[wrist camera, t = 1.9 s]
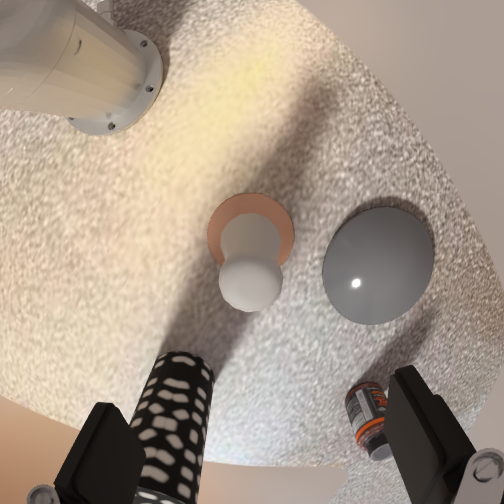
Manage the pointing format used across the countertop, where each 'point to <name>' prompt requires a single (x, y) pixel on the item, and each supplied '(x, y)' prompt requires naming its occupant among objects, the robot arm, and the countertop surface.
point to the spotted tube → (173, 428)
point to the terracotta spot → (244, 206)
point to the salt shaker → (250, 263)
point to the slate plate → (378, 265)
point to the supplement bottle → (369, 419)
